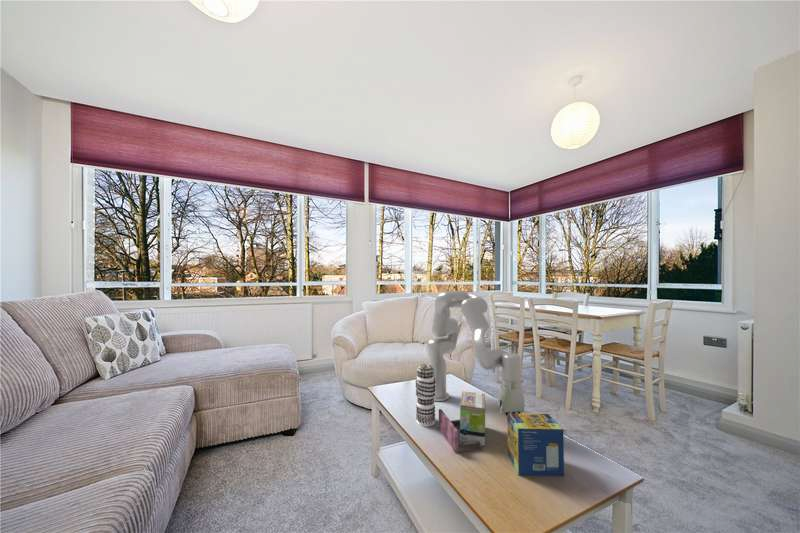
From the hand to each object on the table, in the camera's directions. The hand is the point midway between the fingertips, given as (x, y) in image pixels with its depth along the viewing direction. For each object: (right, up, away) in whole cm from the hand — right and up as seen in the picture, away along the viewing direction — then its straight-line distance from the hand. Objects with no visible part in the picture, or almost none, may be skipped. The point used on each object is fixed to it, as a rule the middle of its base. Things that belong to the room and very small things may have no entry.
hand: (512, 427), depth 122 cm
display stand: (-24, -2, -5) cm, 24 cm away
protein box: (-1, -1, -22) cm, 22 cm away
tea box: (-17, -2, -2) cm, 17 cm away
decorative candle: (-36, -2, +8) cm, 37 cm away
